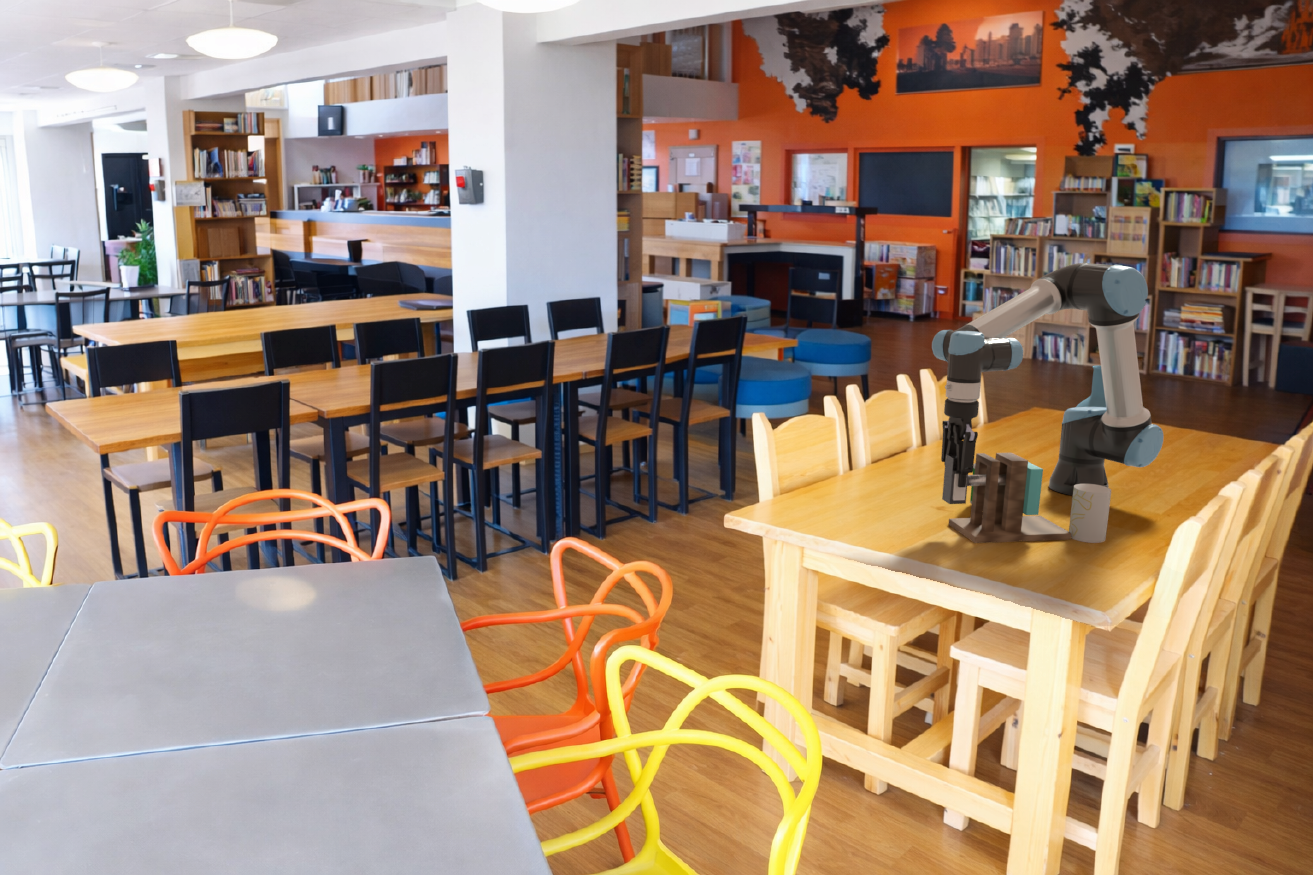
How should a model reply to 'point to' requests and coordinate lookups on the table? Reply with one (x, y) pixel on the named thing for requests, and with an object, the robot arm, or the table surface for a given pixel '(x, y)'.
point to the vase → (1095, 391)
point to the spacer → (1032, 490)
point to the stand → (1004, 505)
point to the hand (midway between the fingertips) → (954, 496)
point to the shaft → (971, 480)
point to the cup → (1089, 513)
